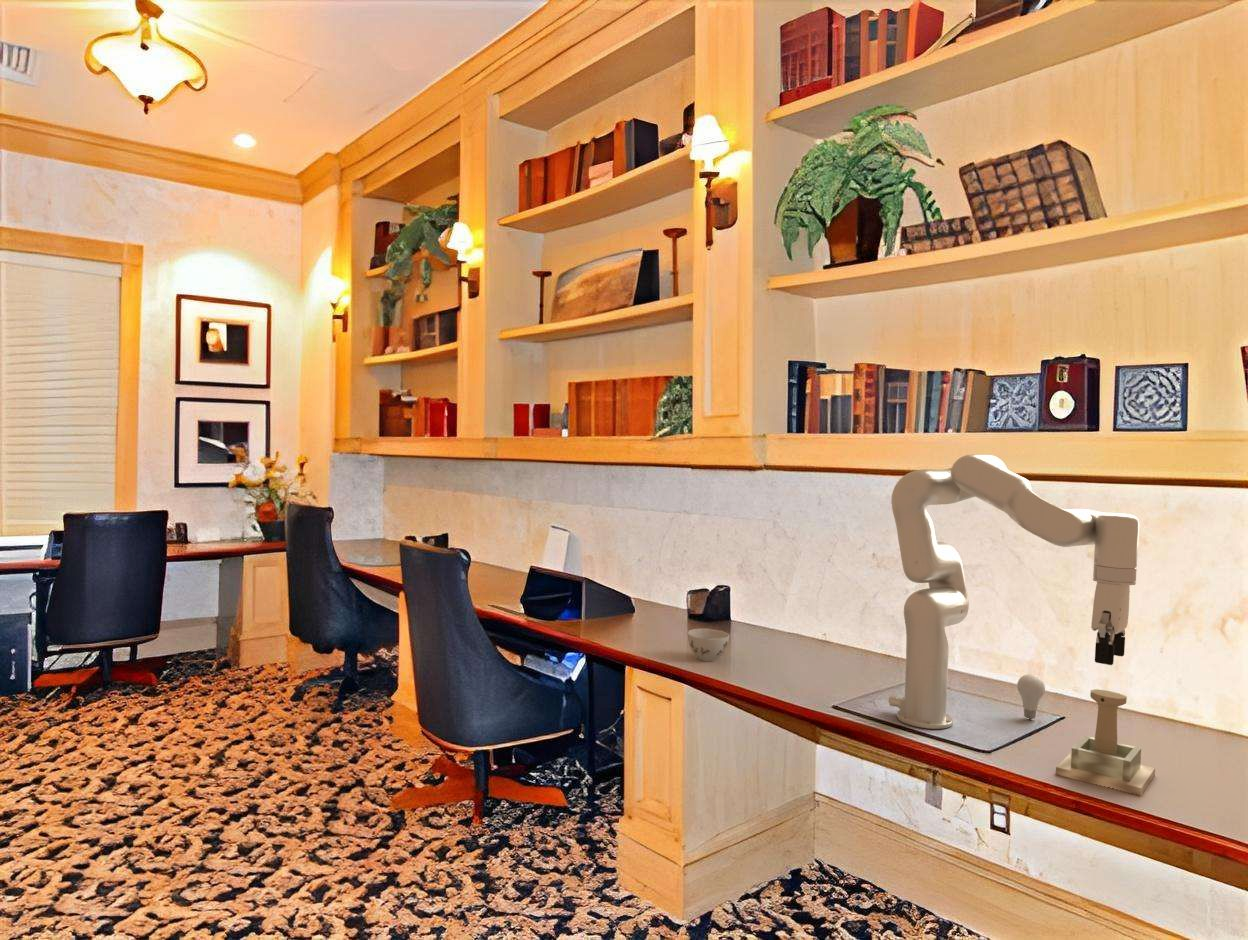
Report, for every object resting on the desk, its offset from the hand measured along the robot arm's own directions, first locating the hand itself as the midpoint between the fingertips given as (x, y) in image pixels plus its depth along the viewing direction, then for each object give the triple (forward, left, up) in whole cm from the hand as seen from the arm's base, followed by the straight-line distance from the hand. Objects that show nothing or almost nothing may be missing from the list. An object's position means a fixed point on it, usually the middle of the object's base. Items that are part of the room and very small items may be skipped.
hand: (1109, 659), depth 174 cm
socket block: (0, 0, -24) cm, 24 cm away
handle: (0, 0, -22) cm, 22 cm away
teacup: (-110, +18, -24) cm, 114 cm away
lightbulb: (-22, +27, -24) cm, 42 cm away
